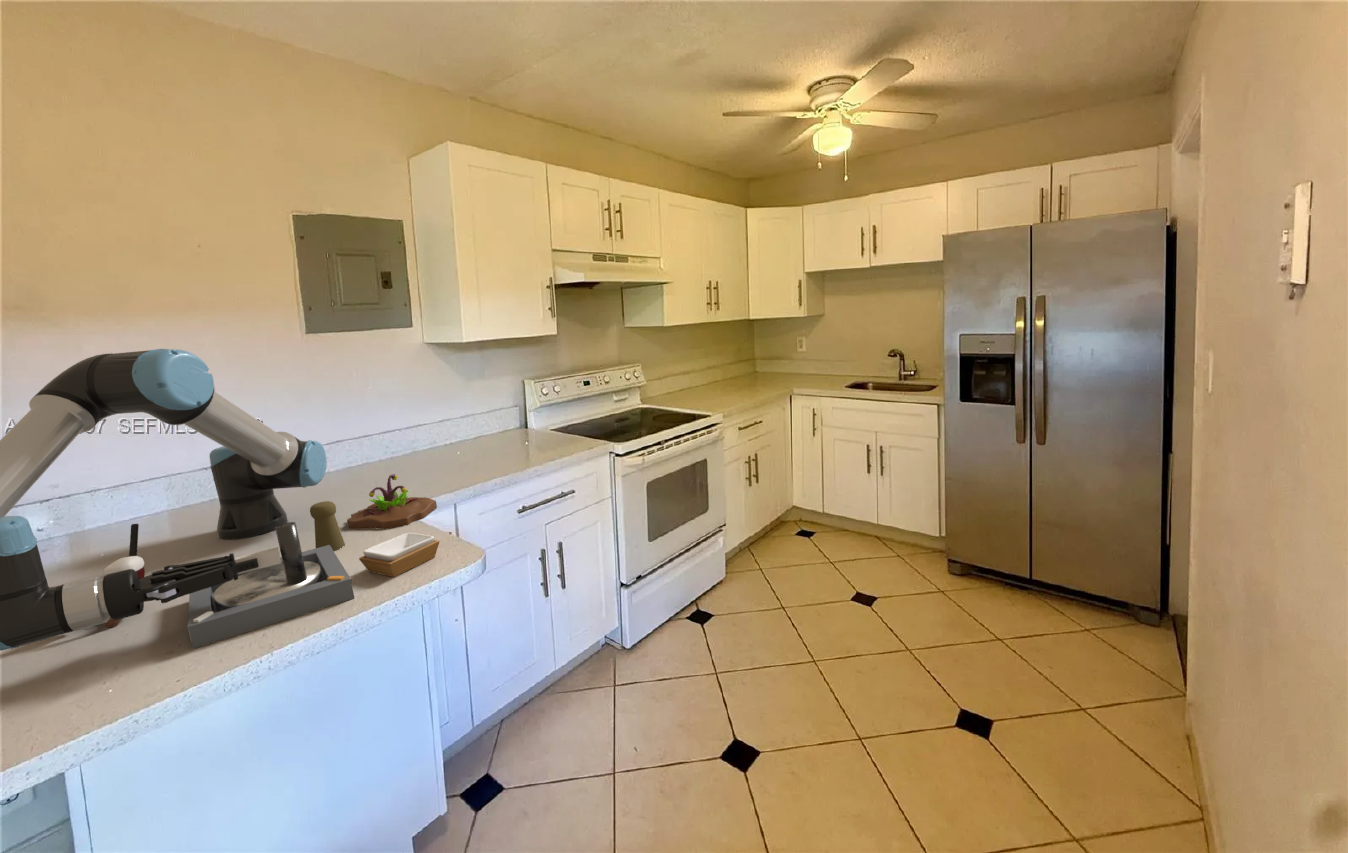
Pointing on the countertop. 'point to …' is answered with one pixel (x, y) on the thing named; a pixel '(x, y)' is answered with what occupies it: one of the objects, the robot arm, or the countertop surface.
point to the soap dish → (399, 554)
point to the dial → (271, 574)
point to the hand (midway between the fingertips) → (279, 555)
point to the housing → (268, 603)
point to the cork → (326, 525)
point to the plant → (391, 509)
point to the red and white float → (132, 560)
